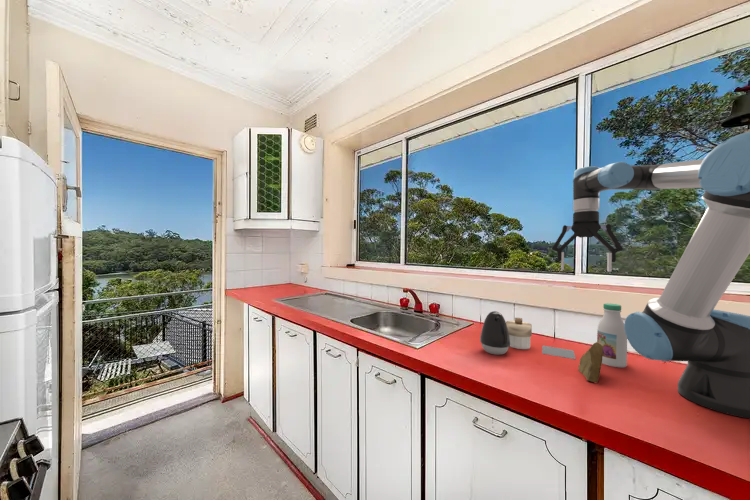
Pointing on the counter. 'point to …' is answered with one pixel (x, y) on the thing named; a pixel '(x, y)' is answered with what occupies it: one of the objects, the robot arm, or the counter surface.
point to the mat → (558, 352)
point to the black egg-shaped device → (495, 334)
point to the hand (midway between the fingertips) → (585, 270)
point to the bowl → (519, 342)
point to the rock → (592, 362)
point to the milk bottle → (612, 336)
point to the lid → (519, 328)
